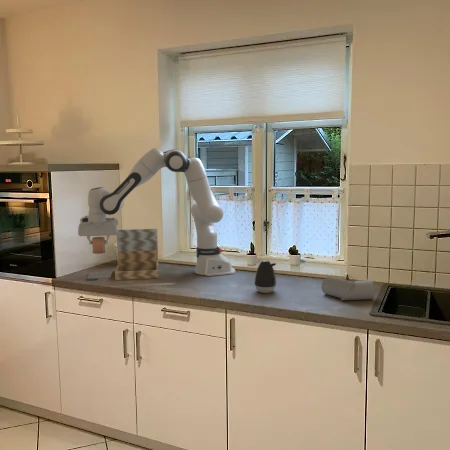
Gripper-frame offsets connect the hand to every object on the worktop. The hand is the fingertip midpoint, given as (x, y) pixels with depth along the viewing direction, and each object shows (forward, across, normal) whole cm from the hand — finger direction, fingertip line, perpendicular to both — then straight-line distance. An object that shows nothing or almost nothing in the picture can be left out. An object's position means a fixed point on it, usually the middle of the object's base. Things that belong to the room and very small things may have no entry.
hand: (98, 243), depth 251 cm
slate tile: (+18, 0, 0) cm, 18 cm away
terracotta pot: (+5, 0, 0) cm, 5 cm away
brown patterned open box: (+18, -20, +2) cm, 27 cm away
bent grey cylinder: (+18, -115, +57) cm, 130 cm away
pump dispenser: (+18, -81, +43) cm, 93 cm away
